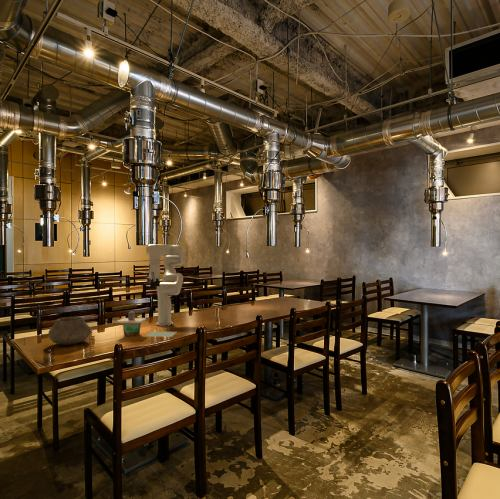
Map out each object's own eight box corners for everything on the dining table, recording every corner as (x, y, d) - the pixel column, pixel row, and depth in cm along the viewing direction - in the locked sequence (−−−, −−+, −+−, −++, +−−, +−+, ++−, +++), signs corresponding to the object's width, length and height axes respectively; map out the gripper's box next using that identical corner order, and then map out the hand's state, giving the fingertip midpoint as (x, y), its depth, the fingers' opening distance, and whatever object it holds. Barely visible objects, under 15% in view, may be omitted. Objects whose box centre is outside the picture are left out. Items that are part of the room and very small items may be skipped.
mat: (152, 332, 222) (152, 331, 222) (177, 332, 221) (177, 331, 221) (145, 337, 209) (145, 336, 209) (171, 337, 208) (171, 336, 208)
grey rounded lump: (80, 337, 210) (81, 313, 210) (96, 343, 196) (97, 317, 196) (42, 344, 193) (42, 319, 193) (57, 351, 179) (57, 323, 180)
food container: (120, 338, 206) (120, 322, 206) (121, 336, 212) (121, 320, 212) (141, 337, 209) (141, 321, 209) (141, 335, 215) (141, 319, 215)
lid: (123, 319, 216) (123, 310, 216) (145, 319, 215) (145, 310, 216) (116, 322, 206) (116, 313, 206) (140, 322, 205) (140, 313, 206)
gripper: (153, 261, 235) (153, 285, 235) (145, 262, 218) (145, 288, 218) (164, 261, 235) (164, 285, 235) (156, 262, 218) (156, 288, 218)
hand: (155, 287), depth 226 cm, fingers open, 9 cm apart
